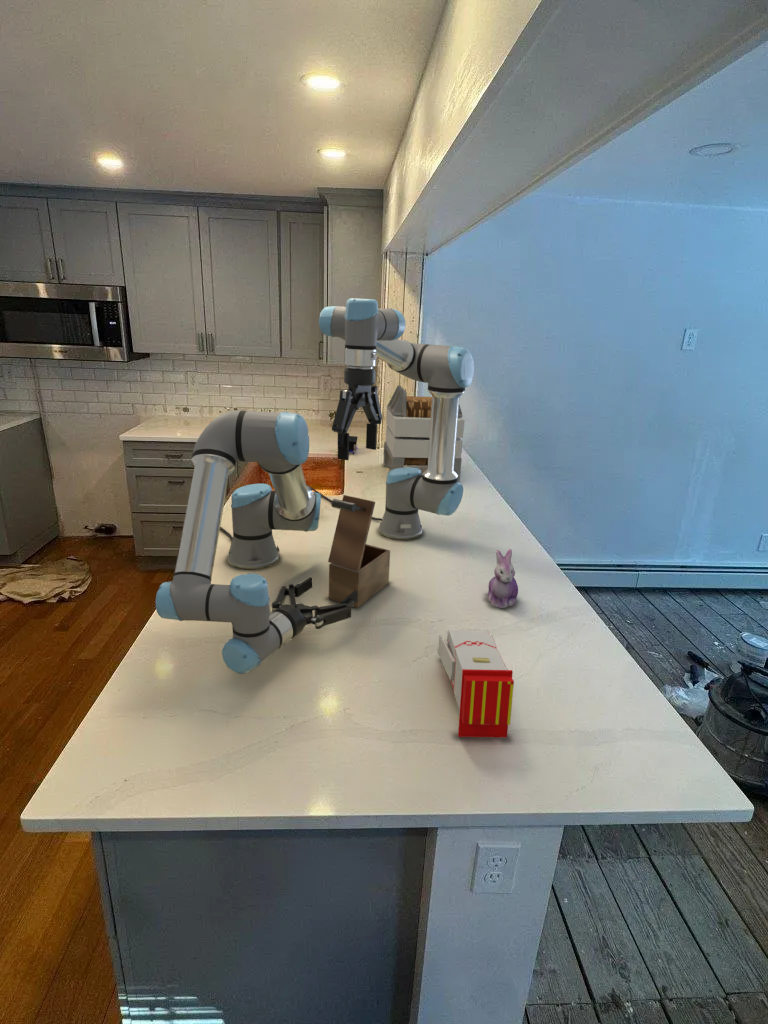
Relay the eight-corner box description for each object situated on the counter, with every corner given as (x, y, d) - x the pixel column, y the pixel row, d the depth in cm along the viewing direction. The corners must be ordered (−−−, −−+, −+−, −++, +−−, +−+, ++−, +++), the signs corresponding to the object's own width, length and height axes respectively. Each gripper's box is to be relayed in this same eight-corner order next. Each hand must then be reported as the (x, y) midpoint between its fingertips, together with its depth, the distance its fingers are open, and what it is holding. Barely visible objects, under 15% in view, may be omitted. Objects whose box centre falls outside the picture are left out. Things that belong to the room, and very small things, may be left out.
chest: (361, 575, 168) (362, 543, 165) (388, 582, 164) (390, 550, 161) (328, 598, 154) (329, 564, 150) (357, 607, 150) (358, 572, 146)
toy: (488, 613, 130) (523, 677, 101) (484, 667, 133) (517, 744, 104) (435, 612, 130) (455, 676, 101) (432, 666, 133) (451, 743, 103)
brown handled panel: (345, 495, 151) (328, 490, 143) (375, 501, 146) (359, 497, 139) (330, 562, 150) (312, 561, 143) (359, 570, 146) (343, 570, 139)
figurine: (500, 612, 150) (506, 561, 145) (477, 595, 159) (482, 546, 153) (527, 605, 154) (535, 555, 149) (504, 589, 163) (510, 541, 158)
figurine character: (357, 457, 303) (357, 447, 317) (357, 444, 300) (358, 434, 313) (344, 457, 303) (345, 447, 317) (344, 443, 300) (345, 434, 313)
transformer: (382, 463, 289) (386, 382, 275) (445, 464, 293) (451, 384, 279) (390, 482, 257) (394, 392, 243) (460, 483, 261) (468, 394, 247)
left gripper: (238, 625, 133) (293, 589, 151) (327, 657, 123) (375, 615, 140) (237, 596, 131) (293, 563, 149) (328, 627, 120) (376, 588, 138)
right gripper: (345, 372, 123) (343, 466, 131) (397, 365, 144) (393, 446, 151) (317, 369, 127) (316, 461, 134) (372, 362, 148) (369, 442, 155)
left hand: (333, 588), depth 144 cm, fingers open, 13 cm apart
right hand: (357, 454), depth 143 cm, fingers open, 13 cm apart
